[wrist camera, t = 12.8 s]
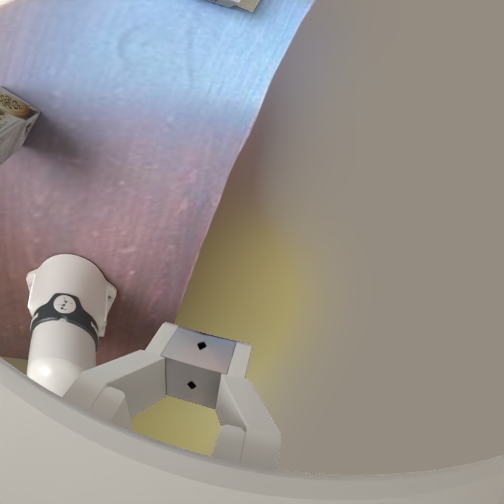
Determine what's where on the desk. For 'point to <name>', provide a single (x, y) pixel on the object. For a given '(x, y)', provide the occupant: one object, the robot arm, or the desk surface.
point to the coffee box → (14, 123)
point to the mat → (248, 4)
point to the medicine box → (225, 2)
